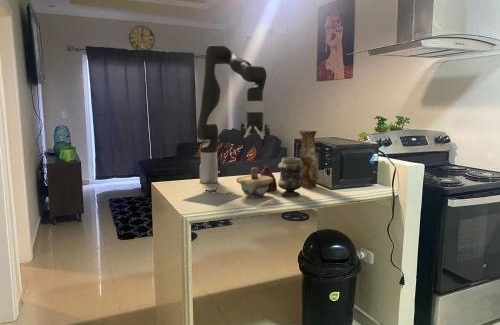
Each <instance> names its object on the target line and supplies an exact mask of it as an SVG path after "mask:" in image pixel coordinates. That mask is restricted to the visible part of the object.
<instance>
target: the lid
mask: <svg viewBox="0 0 500 325" xmlns="http://www.w3.org/2000/svg"><path fill="white" fill-rule="evenodd" d="M250 171H251V172H250V174H251V175H250V174H249V175H241V176H239V177H236V183H237V184H240V185H241V184H245V185H264V184H269V183H272V182H273V178H272V177H269V176H262V175H260V174H259V167H251V169H250Z"/></svg>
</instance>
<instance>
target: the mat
mask: <svg viewBox="0 0 500 325" xmlns="http://www.w3.org/2000/svg"><path fill="white" fill-rule="evenodd" d="M215 192H216V191H215ZM243 197H244V196H243V195H236V194H230V193H224V192H223V193H221V192H216V193H209V192H208V191H206V192H203V193H201V194H200V193H199V194H197V195H194V196H191V197H188V198H185V199H182V201H183V202H189V203H194V204H195V203H196V204H201V205H207V206H208V205H209V206H214V207H219V206H222V205H225V204H227V203H229V202H232V201H235V200H238V199H240V198H243Z"/></svg>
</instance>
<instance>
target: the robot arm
mask: <svg viewBox="0 0 500 325" xmlns="http://www.w3.org/2000/svg"><path fill="white" fill-rule="evenodd" d="M204 60H205V61H204V62H205V63H204V64H205V65H204V78H203V89H202V94H201V107H200V111H199V112H200V113H199V118H198V122H197V127H196V137H197V138H198V140H200V141H205V140H206V141H208V142H207V143H206V144H204V145H202V146H200V151H199V152H200V165H199V168H198V169H199V182H200V183H201V184H216V183H218V181H219V179H218V177H219V176H218V175H219V174H218V145H219V127H218V125H217V123H216V122H208V120H209V118H210V115H211V114H212V113H213V111H215V109H216V107H217V106H218V105H219V103H220V99H221V98H220V97H221V85H220V84H219V81H218V79H217V77H216V74H215V73H216V70H215V69H216V65H223V64H224V65H229V66H230V69H231V70H232V71H233V72H234V73H236V74H238V75H239V76H241V78H242V79H243V80H244V81H246V82H248V83H254V84H253V87H249V88H248V89H247V92H246V95H247V96H246V100H247V101H246V102H247V103H246V123H245V122H244V123H241V124H240V137H242V138H244V143H243V144H244V146H245V147H248V146H250V138H249V137H250V136H251V134H256V135H258V136H259V137H260V139H261V140H260V147H261V148H266V145H267V144H266V143H267V141H266V140H267V139H268V138H271V134H270V129H271V128H270V124H264V102H263V101H264V99H263V98H264V97H263V96H264V95H263V94H264V89H265V84H266V81H267V78H268V77H267V74H268V73H267V70H266V68H265V67H263V66H259V65H258V66H256V65H252V64H251V63H250V62H249V61H248V60H246V59H243V58H242V57H239V56H238V55H237V54H236V53H234V52H233V51H232V50H231V49H229V47H227V46H226V45H222V44H209V45H208V46H207V47H206V50H205V59H204ZM246 129H247V130H246ZM263 129H264V130H263Z"/></svg>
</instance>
